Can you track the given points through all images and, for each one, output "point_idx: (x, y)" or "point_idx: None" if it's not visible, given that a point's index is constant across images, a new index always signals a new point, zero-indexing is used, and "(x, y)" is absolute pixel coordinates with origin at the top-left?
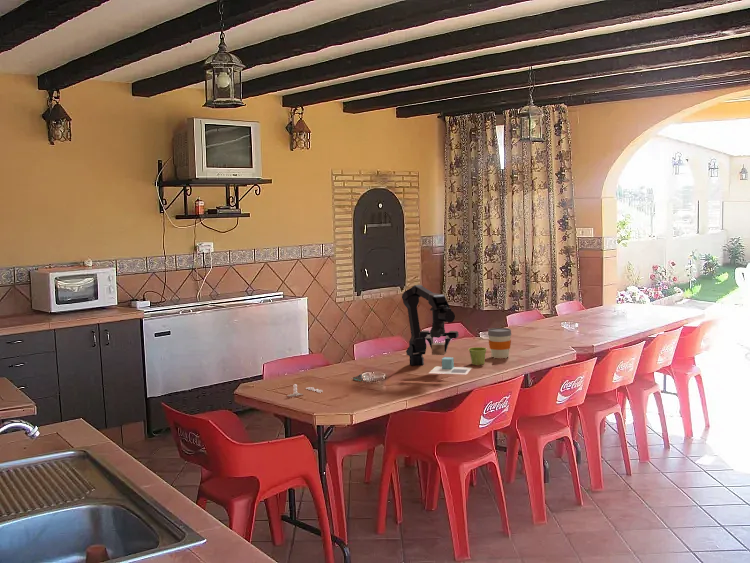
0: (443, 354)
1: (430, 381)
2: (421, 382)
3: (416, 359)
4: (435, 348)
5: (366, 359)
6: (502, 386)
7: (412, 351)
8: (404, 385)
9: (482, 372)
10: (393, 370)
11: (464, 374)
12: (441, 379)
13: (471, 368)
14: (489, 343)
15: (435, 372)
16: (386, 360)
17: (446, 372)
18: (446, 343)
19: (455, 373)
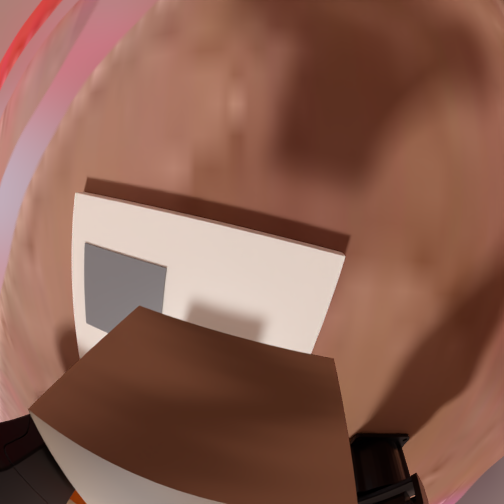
0: (140, 312)
1: (321, 48)
2: (380, 36)
3: (381, 468)
4: (259, 428)
5: (470, 480)
6: (17, 37)
7: (420, 493)
8: (452, 10)
9: (39, 287)
10: (485, 378)
11: (85, 195)
12: (240, 98)
13: (78, 346)
14: (80, 498)
15: (285, 277)
16: (431, 488)
17: (197, 267)
18: (10, 438)
19: (134, 225)
